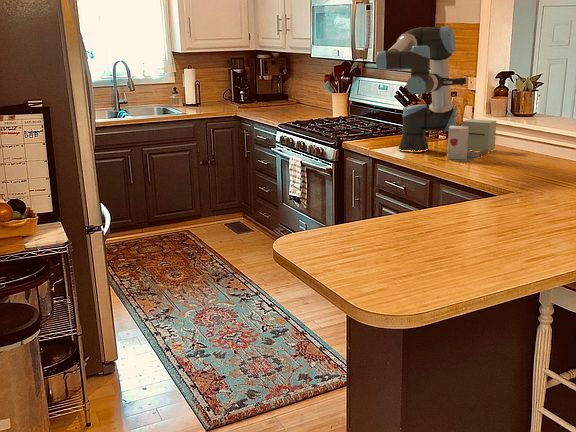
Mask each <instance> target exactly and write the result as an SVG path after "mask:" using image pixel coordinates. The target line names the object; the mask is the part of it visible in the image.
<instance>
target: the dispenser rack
mask: <svg viewBox="0 0 576 432" xmlns="http://www.w3.org/2000/svg"><path fill="white" fill-rule="evenodd" d="M461 126H469V132H468V148H467V150H472V151H480V152H471V151H467V156H469V157H476V158H475V159H480V158H481V156H482V157H484V155H485V156H487V155H488V154H489V153H490V152H489V151H491V150H493V149H496V136H497V135H496V132H497V120H490V119H489V120H488V119H487V120H486V119H473V118H472V119H471V118H468V119H466V120H463V121H462V123H461ZM488 152H489V153H488ZM491 152H492V151H491ZM446 154H448V149H446ZM446 154H445V155H446ZM486 154H487V155H486ZM479 157H480V158H479Z"/></svg>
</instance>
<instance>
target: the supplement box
mask: <svg viewBox="0 0 576 432" xmlns="http://www.w3.org/2000/svg"><path fill="white" fill-rule="evenodd" d="M468 132H469V126H462V125H454V126H450V127H449V131H448V138H447V140H448V141H447V142H448V143H447V150H448V157H447V159H462V160H466V159H467V152H468V151H467V148H468Z"/></svg>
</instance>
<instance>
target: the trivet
mask: <svg viewBox="0 0 576 432" xmlns="http://www.w3.org/2000/svg"><path fill="white" fill-rule="evenodd" d="M474 158H475V159H477V158H476V157H469V156H467V159H466V160H462V159H447V160H451V161H450V162H454V161H459V162H458V163H464V162H465V163H467V162H469V160H470V161H472V160H474Z"/></svg>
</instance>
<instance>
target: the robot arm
mask: <svg viewBox="0 0 576 432" xmlns="http://www.w3.org/2000/svg"><path fill="white" fill-rule="evenodd" d="M455 51H456V35H455V31H454V30H453V28H452V27H451V26H442V25H441V26H431V27H430V26H426V27H425V26H423V27H421V26H420V27H414V28H412V29H410V30H407V31H405V32H403V33H402V34H401V35H399V37H398V38H397V39H396V42H395V43H394V44H393V45H392V46H391V47H390V48H389V49H388V50H382V51H377V52H376V56H375V66H376V68H377V69H378V70H384V71H386V70H388V71H389V70H390V71H391V70H392V71H393V70H410V77H409V78H408V80H407V82H406V90H407V91H408V92H409V93H410V94H411V95H423V94H426V95H427V94H429V93H431V103H430V104H429V106H428V107H427V104H422V103H421V104H415V105H414V104H413V105H408V106H405V107H404V108H403V109H402V110H403V111H402V136H401V138H400V141H399V145H398V150H399V149H401V150H411V151H412V150H413V151H414V150H415V151H418V150H419V151H420V150H426V149H428V150H429V144H428V141H427V138H426V131H431V132H433V131H434V132H449V127H450V126H455V124H456V118H457V113H458V112H457V110H458V109H457V108H456V107H454V104H453V102H451V98H450V97H451V93H450V92H451V91H450V86H456V85H457V86H459V85H460V86H463V85H467V82H468V76H460V77H455V78H454V77H453V78H450V58H451V57H452V55H453V54H454V52H455Z"/></svg>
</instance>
